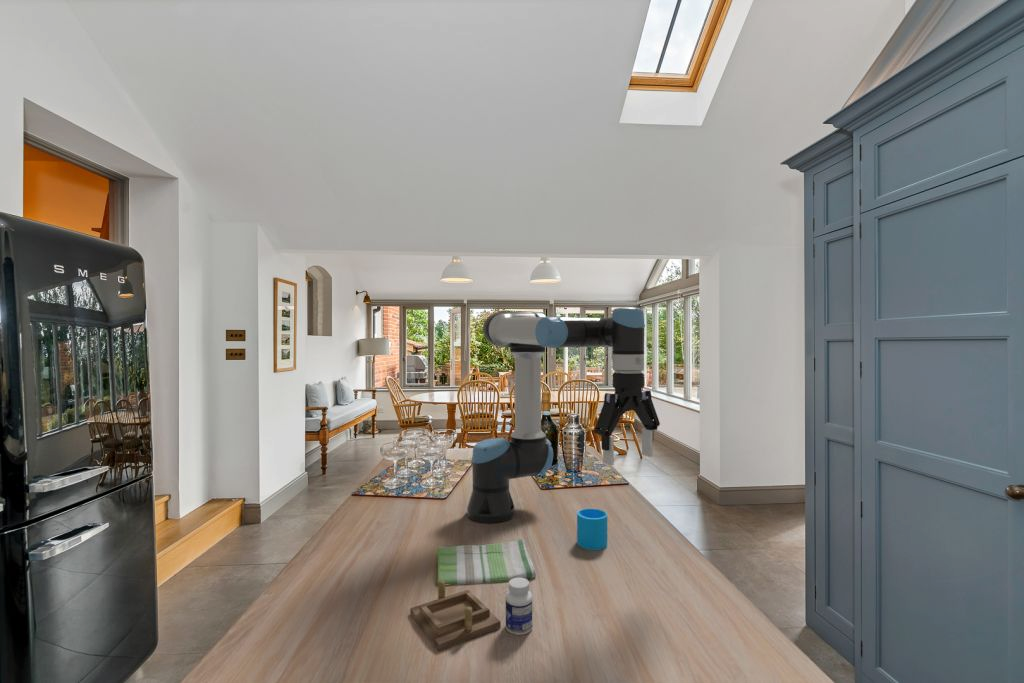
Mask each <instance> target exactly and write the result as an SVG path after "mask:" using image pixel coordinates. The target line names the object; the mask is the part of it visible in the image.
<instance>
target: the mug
mask: <svg viewBox="0 0 1024 683" xmlns="http://www.w3.org/2000/svg"><path fill="white" fill-rule="evenodd" d="M576 543H577V545H578V546H579V547H580V548H583V549H586V550H592V551H594V550H595V551H597V550H599V551H600V550H603V549H605V548H606V547H608V513H607V512H606V511H604V510H602V509H598V508H582V509H579V510H577V513H576Z"/></svg>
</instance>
